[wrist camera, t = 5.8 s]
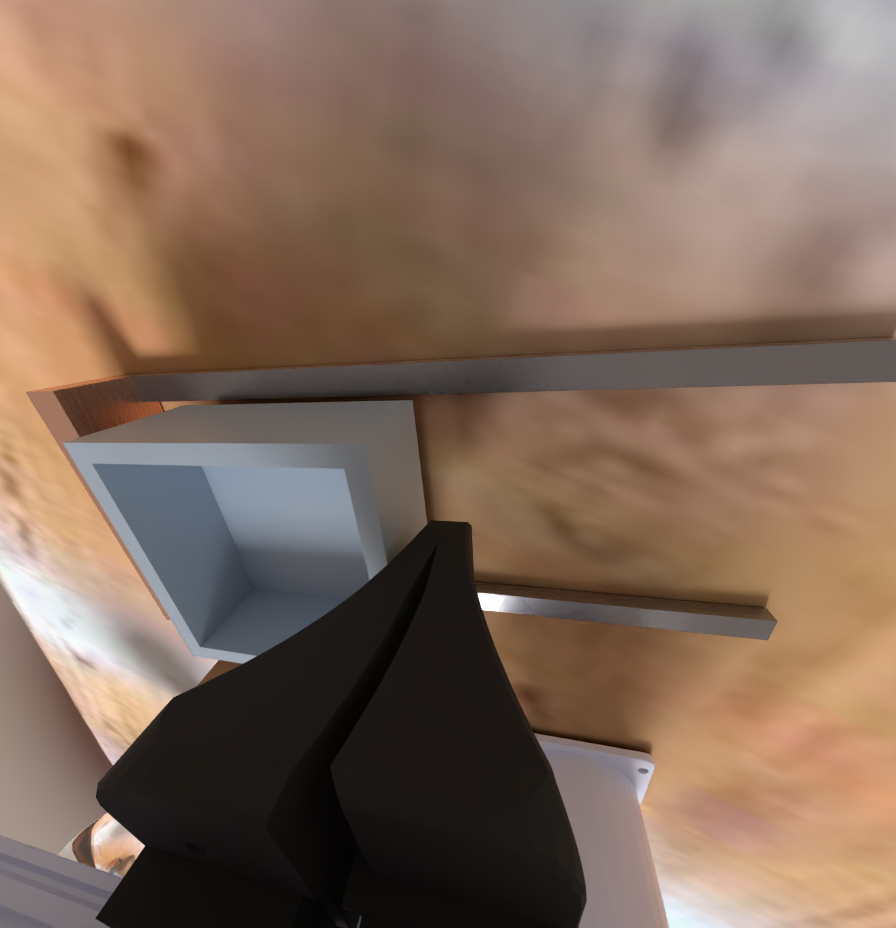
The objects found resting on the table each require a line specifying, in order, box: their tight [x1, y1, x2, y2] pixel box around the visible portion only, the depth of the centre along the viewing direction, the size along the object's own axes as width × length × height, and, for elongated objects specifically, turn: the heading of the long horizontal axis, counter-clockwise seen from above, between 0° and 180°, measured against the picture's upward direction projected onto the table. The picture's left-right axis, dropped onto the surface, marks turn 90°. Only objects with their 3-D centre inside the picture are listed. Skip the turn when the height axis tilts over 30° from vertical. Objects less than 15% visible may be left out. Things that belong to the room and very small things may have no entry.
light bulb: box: [58, 813, 145, 878], centre depth 21 cm, size 7×7×12 cm
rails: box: [26, 337, 896, 640], centre depth 12 cm, size 11×25×3 cm, turn 94°
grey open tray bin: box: [63, 400, 427, 664], centre depth 12 cm, size 9×9×5 cm
